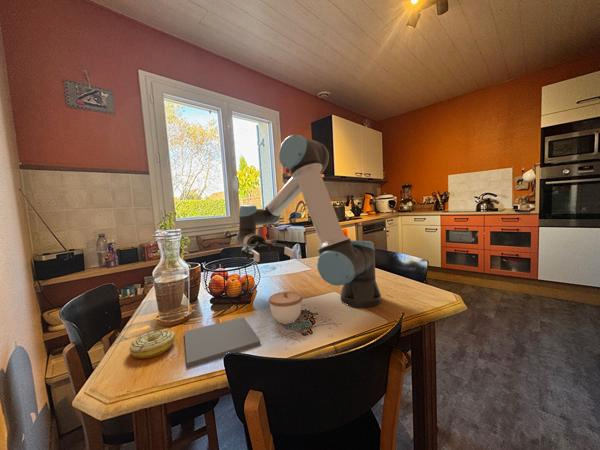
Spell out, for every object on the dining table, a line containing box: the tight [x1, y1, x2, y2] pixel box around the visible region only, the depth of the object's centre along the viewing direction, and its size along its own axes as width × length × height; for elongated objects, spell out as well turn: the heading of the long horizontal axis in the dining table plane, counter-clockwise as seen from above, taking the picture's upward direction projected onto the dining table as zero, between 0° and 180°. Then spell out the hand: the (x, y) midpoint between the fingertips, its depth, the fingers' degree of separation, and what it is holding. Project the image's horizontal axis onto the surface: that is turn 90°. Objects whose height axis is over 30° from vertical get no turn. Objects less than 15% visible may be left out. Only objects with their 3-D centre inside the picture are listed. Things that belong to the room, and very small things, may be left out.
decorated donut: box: [129, 329, 176, 360], centre depth 66 cm, size 10×11×4 cm
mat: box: [183, 316, 261, 368], centre depth 69 cm, size 18×18×1 cm
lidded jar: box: [268, 291, 303, 325], centre depth 79 cm, size 11×11×9 cm
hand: (276, 256), depth 85 cm, fingers open, 13 cm apart
